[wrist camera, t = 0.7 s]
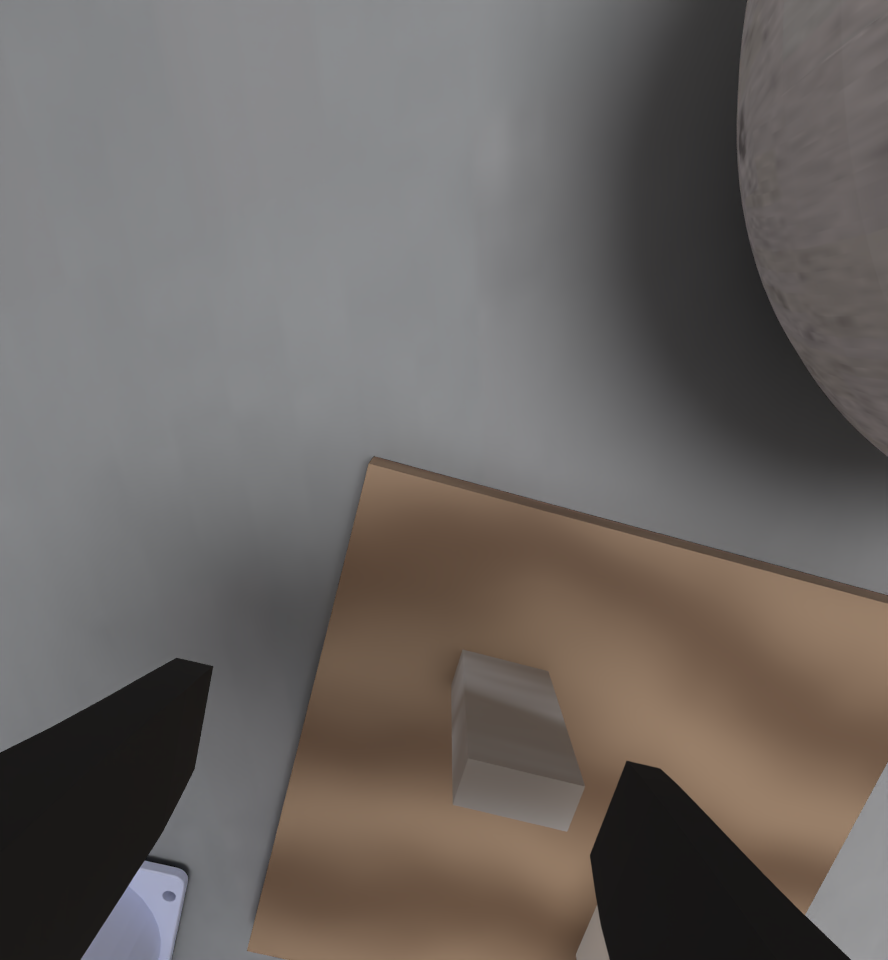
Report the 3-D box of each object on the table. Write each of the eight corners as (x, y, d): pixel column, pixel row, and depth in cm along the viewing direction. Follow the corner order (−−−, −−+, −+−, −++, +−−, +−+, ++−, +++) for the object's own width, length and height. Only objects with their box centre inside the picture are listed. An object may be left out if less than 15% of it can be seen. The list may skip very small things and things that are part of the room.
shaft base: (715, 1019, 23) (808, 1252, 17) (257, 919, 22) (187, 1130, 16) (930, 607, 19) (1156, 726, 13) (373, 456, 18) (336, 508, 12)
